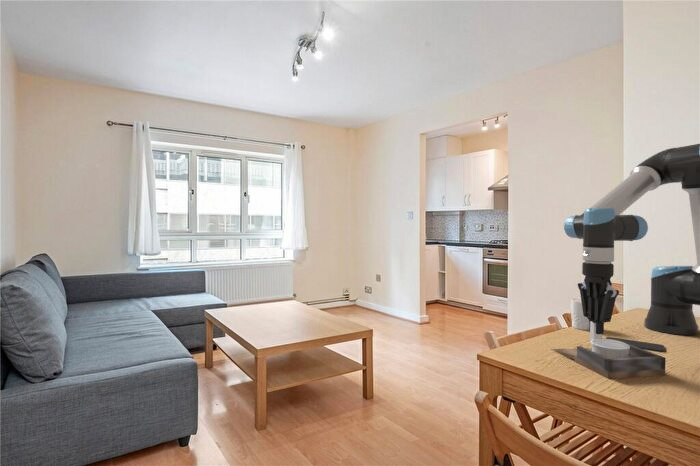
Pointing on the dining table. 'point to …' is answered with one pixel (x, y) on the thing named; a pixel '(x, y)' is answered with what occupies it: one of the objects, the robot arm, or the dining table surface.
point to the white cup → (578, 315)
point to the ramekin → (610, 348)
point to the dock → (618, 362)
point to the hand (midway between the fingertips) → (595, 344)
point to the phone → (642, 344)
